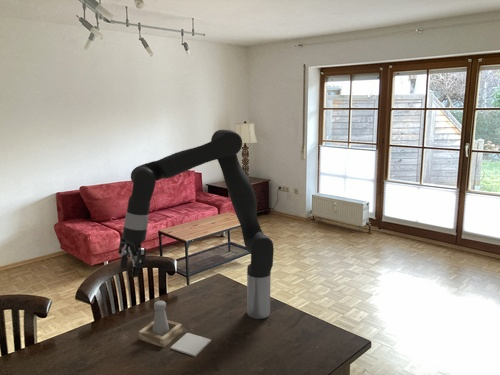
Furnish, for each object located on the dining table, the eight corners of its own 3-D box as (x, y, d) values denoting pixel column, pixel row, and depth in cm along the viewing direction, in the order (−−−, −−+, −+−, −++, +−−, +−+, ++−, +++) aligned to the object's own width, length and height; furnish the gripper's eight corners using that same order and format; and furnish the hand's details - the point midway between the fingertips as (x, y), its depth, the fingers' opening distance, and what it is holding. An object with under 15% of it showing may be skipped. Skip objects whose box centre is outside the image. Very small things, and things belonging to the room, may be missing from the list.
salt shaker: (165, 341, 140) (163, 307, 138) (150, 339, 141) (148, 305, 139) (171, 332, 146) (170, 299, 143) (157, 330, 147) (155, 297, 144)
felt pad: (187, 334, 144) (187, 332, 144) (211, 341, 140) (211, 339, 140) (170, 348, 136) (170, 347, 136) (195, 356, 131) (195, 355, 131)
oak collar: (158, 324, 151) (158, 317, 150) (182, 331, 146) (182, 324, 145) (138, 339, 141) (138, 331, 140) (163, 347, 136) (163, 339, 136)
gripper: (156, 231, 130) (149, 278, 131) (136, 220, 140) (129, 264, 142) (135, 232, 124) (128, 281, 126) (115, 220, 135) (109, 266, 136)
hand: (128, 272), depth 134 cm, fingers open, 8 cm apart
